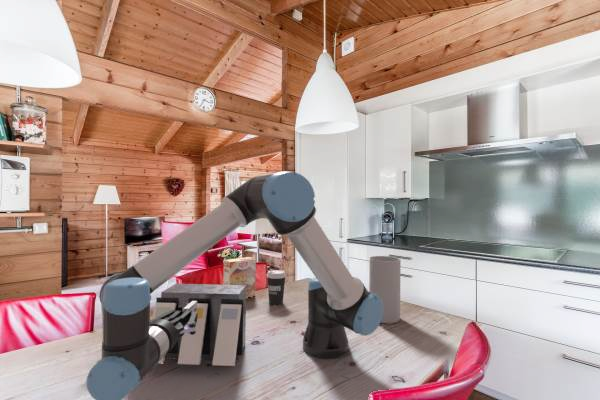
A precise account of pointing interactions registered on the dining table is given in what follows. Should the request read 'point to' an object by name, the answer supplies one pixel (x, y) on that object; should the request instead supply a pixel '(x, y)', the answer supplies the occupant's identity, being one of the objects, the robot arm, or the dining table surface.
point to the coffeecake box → (241, 273)
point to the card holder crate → (208, 311)
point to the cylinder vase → (386, 285)
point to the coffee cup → (276, 286)
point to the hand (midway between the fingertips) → (194, 305)
